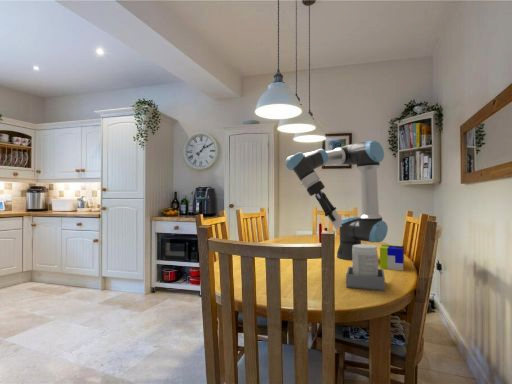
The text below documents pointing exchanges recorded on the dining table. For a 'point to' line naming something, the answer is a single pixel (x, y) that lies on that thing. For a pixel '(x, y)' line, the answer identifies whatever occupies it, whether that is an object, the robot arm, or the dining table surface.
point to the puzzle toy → (392, 257)
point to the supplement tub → (365, 260)
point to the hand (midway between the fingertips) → (340, 225)
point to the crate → (365, 281)
